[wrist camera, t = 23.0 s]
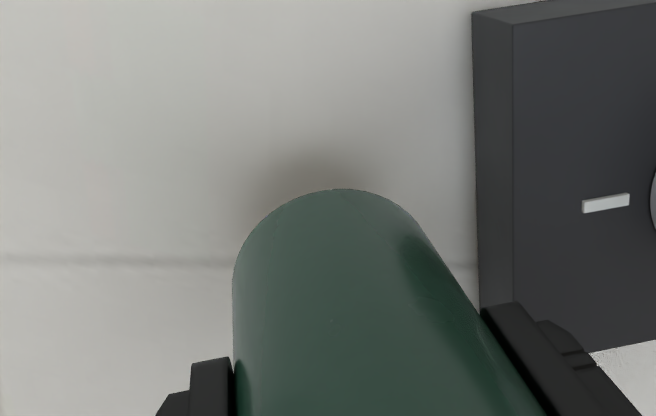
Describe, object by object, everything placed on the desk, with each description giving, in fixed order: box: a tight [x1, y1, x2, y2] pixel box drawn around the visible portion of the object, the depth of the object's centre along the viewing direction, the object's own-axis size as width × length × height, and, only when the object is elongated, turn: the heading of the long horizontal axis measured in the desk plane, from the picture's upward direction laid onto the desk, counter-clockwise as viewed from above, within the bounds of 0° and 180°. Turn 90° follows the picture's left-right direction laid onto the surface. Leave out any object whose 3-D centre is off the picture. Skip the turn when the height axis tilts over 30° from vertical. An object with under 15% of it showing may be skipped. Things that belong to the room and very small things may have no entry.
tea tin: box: [232, 189, 547, 416], centre depth 12 cm, size 5×5×8 cm
